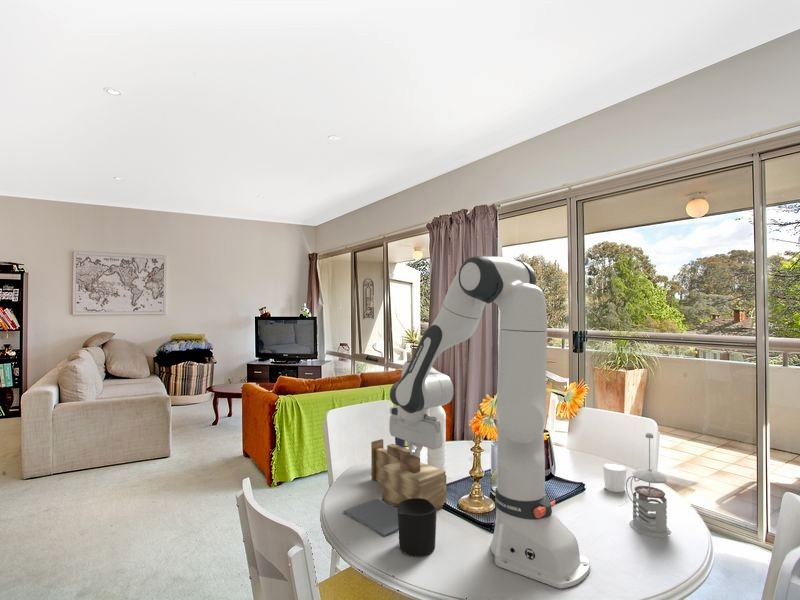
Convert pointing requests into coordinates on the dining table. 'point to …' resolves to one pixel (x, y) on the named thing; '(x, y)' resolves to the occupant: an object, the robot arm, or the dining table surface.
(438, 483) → the wooden open box
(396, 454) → the key
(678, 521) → the dining table surface
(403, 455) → the lid
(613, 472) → the white cup
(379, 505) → the mat
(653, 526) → the french press
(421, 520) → the pen holder
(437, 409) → the water bottle
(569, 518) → the dining table surface
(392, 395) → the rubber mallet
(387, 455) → the rail
